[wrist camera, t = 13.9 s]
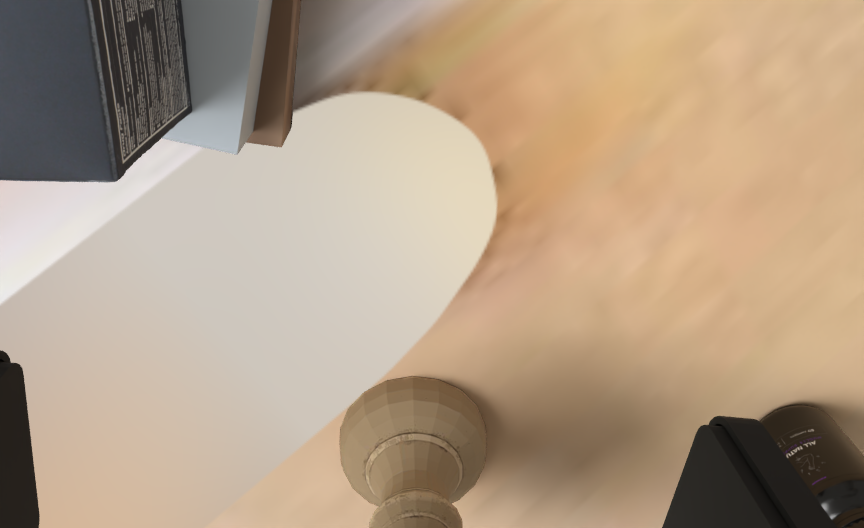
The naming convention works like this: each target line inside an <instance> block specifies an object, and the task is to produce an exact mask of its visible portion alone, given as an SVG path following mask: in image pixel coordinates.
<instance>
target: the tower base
mask: <svg viewBox="0 0 864 528" xmlns="http://www.w3.org/2000/svg"><path fill="white" fill-rule="evenodd" d="M300 7H301V0H272V7H271V14H270V21H269V27H268V34H267V41H266V48H265V54H264V61H263V68H262V75H261V81H260V88H259V95H258V102H257V108H256V115H255V122H254V129H253V132H252V134H251V135H250V137H249V138H248V140H247V141H246V142H248V143H254V144H261V145H269V146H276V147H282V145H283V143H284V141H285V139H286V137H287V135H288V133H289V131H290V130H291V127H292V117H293V113H292V104H293V92H294V80H295V68H296V56H297V44H298V31H299V19H300Z"/></svg>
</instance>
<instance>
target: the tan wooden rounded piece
mask: <svg viewBox="0 0 864 528" xmlns="http://www.w3.org/2000/svg"><path fill="white" fill-rule="evenodd" d="M486 441H487V437H486V428H485V424H484V421H483V419H482V417H481V414H480V412H479V409H478V407H477V405H476V404H475V403H474V402H473V401H472V400H471V399H470V398H469V397H468V396H467V395H466V394H465V393H464V392H463V391H462V390H460V389H458V388H456V387H454V386H451V385H449V384H447V383H445V382H443V381H441V380H438V379H430V378H422V377H414V376H411V377H405V378H399V379H394V380H388V381H385V382H383V383H381V384H379V385H377V386H375V387H373V388H371V389H369V390H367V391H365V392H364V393H363V394H362V395H361V396H360V397H359V398H358V399H357V400H356V401H355V402H354V403H353V404H352V405H351V406H350V408H349V409H348V410H347V413H346V416H345V418H344V421H343V423H342V426H341V429H340V455H341V464H342V467H343V471H344V473H345V475H346V476H347V478H348V480H349V482H350V484H351V486H352V488H353V489H354V490H355V491H356V492H358V493H359V494H360V495H361V496H362V497H363V498H365V499H366V500H367V501H368V502H369V503H372V504H374V505H377V506H379V507H378V508H377V509H376V510H375V511H374V514H373V516H372V518H371V521H370V526H369V528H462V519H461V517H460V515H459V512H458V510H457V508H456V507H455V506H453V505H452V504H451V503H454V502H456V501H458V500H459V499H460V498H462V497H463V496H464V495H465V494H466V493H467V492H468V491H469V490H470V489H471V488H472V487H473V486H474V485H475V484H476V482H477V480H478V478H479V476H480V474H481V472H482V470H483V468H484V464H485V459H486Z"/></svg>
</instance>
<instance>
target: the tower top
mask: <svg viewBox="0 0 864 528" xmlns="http://www.w3.org/2000/svg"><path fill="white" fill-rule="evenodd" d="M181 4H182V13H183V23H184V34H185V40H186V52H187V63H188V71H189V82H190V92H191V104H192V113H190V114H189V115H188V116H186V117H185V118H184V119H182V120H181V121H180V122H179V123H178V124H176V126H175V127H174V128H172V129H171V130H169V132H168V133H166V134H165V135H164V136H163V137H162V138H163V139H168V140H172V141H177V142H181V143H186V144H190V145H195V146H200V147H204V148H209V149H213V150H218V151H222V152H227V153H232V154H238V153H239V151H240V150H241V148H242V147H243V146H244V144H245V143H246V141H247V140H248V138H249V137H250V135H251V134H252V132H253V129H254V122H255V115H256V108H257V102H258V95H259V88H260V81H261V75H262V68H263V61H264V54H265V48H266V41H267V34H268V27H269V21H270V14H271V7H272V0H181Z"/></svg>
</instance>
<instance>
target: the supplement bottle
mask: <svg viewBox="0 0 864 528" xmlns="http://www.w3.org/2000/svg"><path fill="white" fill-rule="evenodd" d="M760 423H761V424H762V425H763V426H764V427H765V428H766V430H767V431H768V433H769V434H770V435H771V437H772V438H773V439H774V441H775V442H776V444H777V445H778V446H779V448H780V449H781V450H782V452H783V453H784V455H785V456H786V457H787V459H788V460H789V461H790V463H791V464H792V466H793V467H794V468H795V470H796V471H797V473H798V474H799V475H800V477H801V478H802V479H803V481H804V482H805V484H806V485H807V486H808V488H809V489H810V490H811V492H812V493H813V495H814V496H815V497H816V499H817V500H818V501H819V503H820V504H821V506H822V507H823V508H824V510H825V511H826V512H827V514H828V515H829V517H830V518H831V519H832V521H833V522H834V524H835V525H836V526H837V528H864V456H863V454H862V453H861V452H860V451H859V450H858V448H857V447H856V446H855V445H854V444H853V443H852V441H851V440H850V439H849V438H848V437H847V435H846V434H845V433H844V432H843V431H842V429H841V428H840V427H839V426H838V425H837V424H836V422H835V421H834V420H833V419H832V418H831V417H830V416H829V415H828V414H827V413H825V412H824V411H822V410H820V409H818V408H815V407H812V406H806V405H794V406H788V407H784V408H781V409H779V410H776V411H774V412H772V413H771V414H769V415H768V416H766V417H765V418H764V419H762V420H761V421H760Z"/></svg>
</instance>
